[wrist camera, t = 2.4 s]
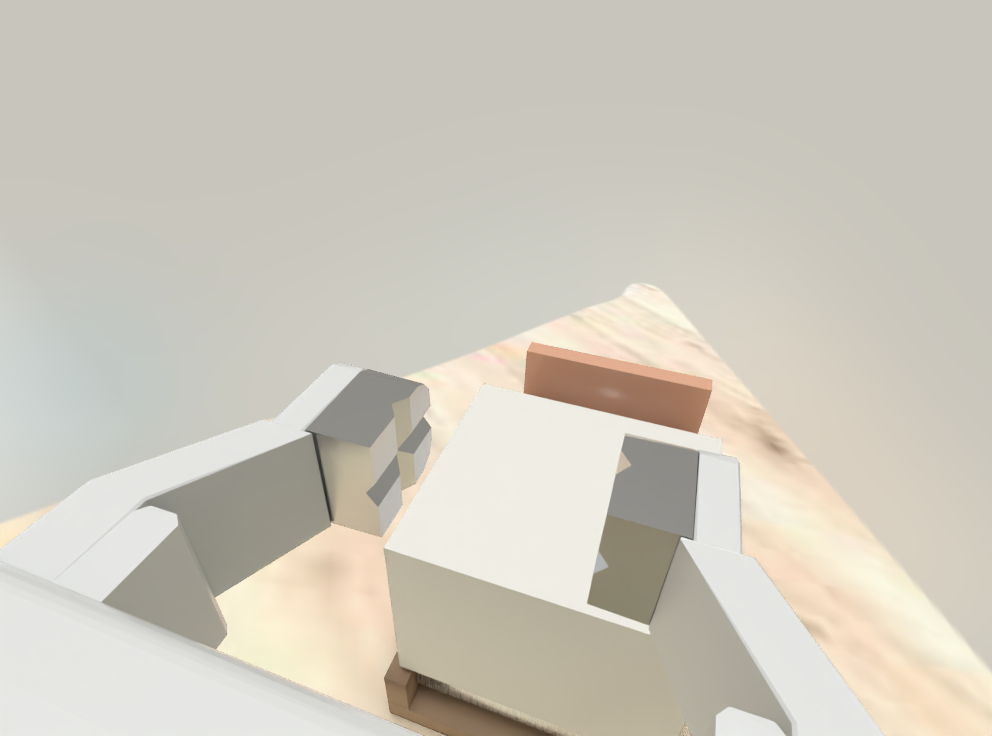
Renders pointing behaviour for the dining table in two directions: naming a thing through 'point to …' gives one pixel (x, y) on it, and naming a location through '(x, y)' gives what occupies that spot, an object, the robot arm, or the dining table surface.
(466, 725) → the roller track
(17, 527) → the dining table surface
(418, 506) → the off-white cardboard box
